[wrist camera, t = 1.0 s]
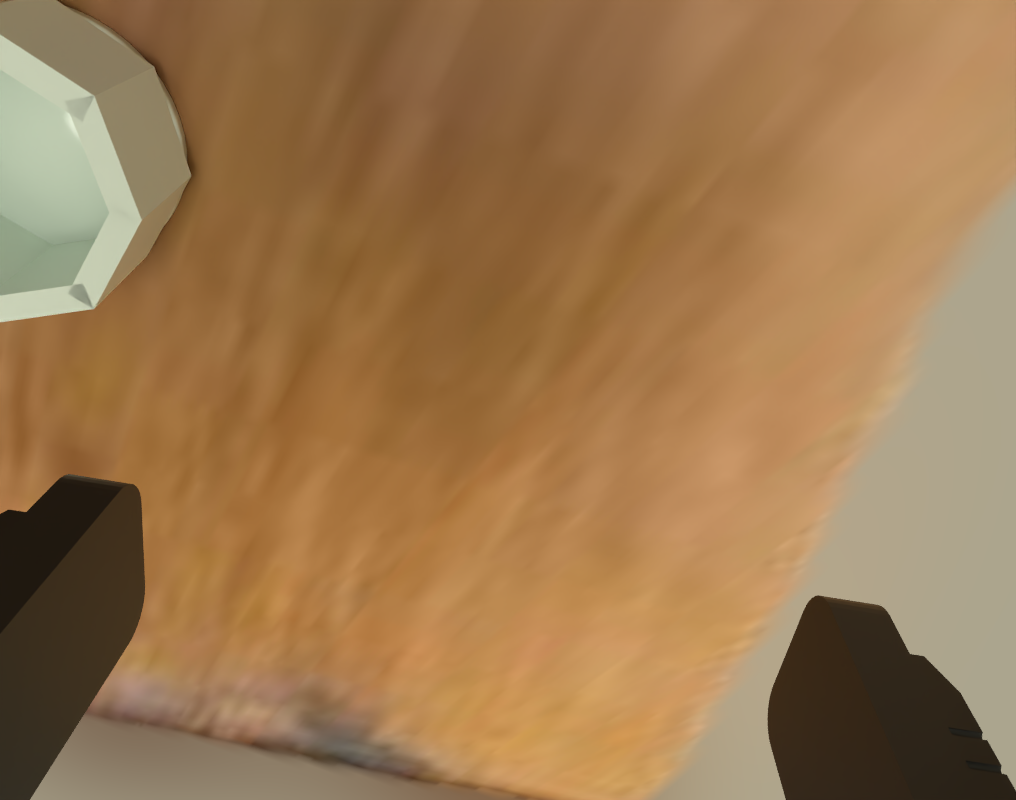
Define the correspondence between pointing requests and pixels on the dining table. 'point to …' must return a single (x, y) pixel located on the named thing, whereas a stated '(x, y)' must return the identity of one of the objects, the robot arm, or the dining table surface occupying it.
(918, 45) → the dining table surface
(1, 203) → the bowl
